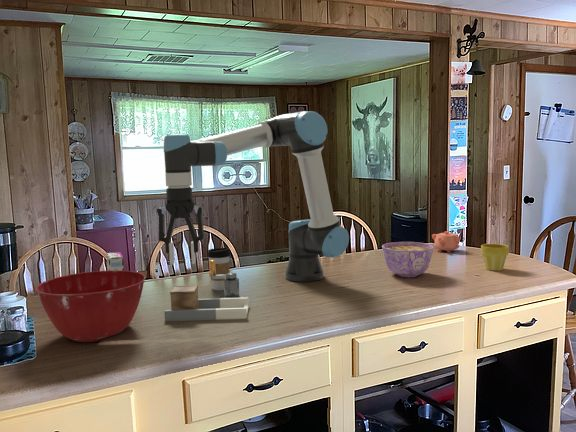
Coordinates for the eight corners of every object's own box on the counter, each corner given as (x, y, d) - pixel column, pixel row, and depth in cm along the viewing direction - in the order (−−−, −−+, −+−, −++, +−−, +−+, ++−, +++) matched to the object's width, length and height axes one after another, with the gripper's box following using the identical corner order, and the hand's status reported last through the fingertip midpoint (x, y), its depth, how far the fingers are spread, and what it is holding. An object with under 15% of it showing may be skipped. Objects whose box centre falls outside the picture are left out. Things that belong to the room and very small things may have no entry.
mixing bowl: (69, 318, 157) (65, 269, 155) (160, 317, 156) (157, 268, 154) (19, 354, 129) (13, 295, 127) (129, 352, 128) (125, 293, 126)
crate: (199, 310, 159) (198, 285, 158) (195, 317, 152) (194, 291, 151) (176, 311, 159) (174, 285, 158) (171, 318, 151) (170, 292, 150)
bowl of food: (426, 283, 188) (426, 252, 186) (374, 277, 198) (374, 248, 196) (439, 271, 205) (439, 243, 204) (391, 267, 215) (391, 240, 214)
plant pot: (495, 265, 214) (495, 242, 213) (513, 270, 204) (514, 246, 203) (475, 267, 210) (475, 244, 209) (493, 273, 201) (493, 248, 199)
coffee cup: (227, 291, 183) (226, 251, 181) (205, 291, 185) (203, 250, 183) (234, 285, 191) (233, 246, 189) (213, 285, 193) (211, 246, 191)
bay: (248, 309, 162) (248, 297, 161) (246, 321, 150) (246, 308, 149) (173, 311, 161) (172, 299, 161) (165, 324, 149) (164, 311, 149)
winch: (246, 298, 174) (245, 275, 173) (244, 306, 165) (243, 282, 164) (220, 299, 174) (219, 276, 173) (217, 307, 165) (216, 283, 164)
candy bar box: (126, 304, 170) (123, 256, 168) (111, 306, 168) (107, 258, 166) (123, 296, 181) (120, 251, 179) (108, 298, 179) (105, 252, 177)
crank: (236, 277, 170) (236, 258, 169) (236, 279, 167) (235, 260, 166) (210, 278, 170) (209, 259, 169) (209, 280, 166) (208, 261, 165)
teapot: (438, 254, 240) (438, 233, 239) (430, 249, 252) (431, 230, 251) (462, 253, 241) (463, 233, 240) (453, 248, 253) (454, 229, 251)
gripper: (212, 185, 154) (215, 260, 157) (150, 187, 154) (154, 261, 157) (209, 186, 147) (212, 265, 150) (143, 188, 146) (148, 267, 149)
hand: (183, 263), depth 153 cm, fingers open, 6 cm apart
